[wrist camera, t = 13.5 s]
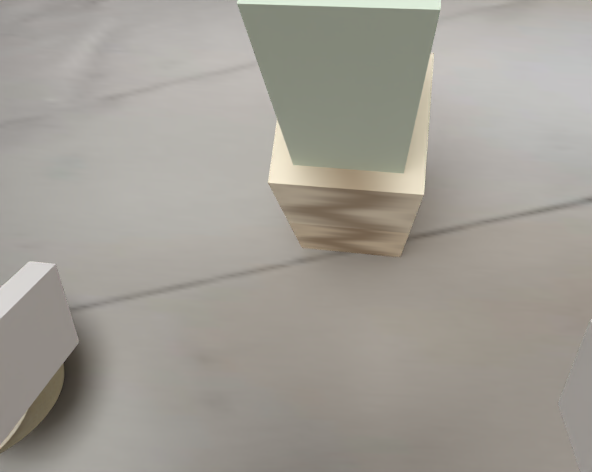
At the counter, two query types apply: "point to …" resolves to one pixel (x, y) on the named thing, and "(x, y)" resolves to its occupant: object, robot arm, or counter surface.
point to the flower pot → (36, 410)
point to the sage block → (344, 76)
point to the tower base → (350, 239)
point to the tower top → (355, 184)
